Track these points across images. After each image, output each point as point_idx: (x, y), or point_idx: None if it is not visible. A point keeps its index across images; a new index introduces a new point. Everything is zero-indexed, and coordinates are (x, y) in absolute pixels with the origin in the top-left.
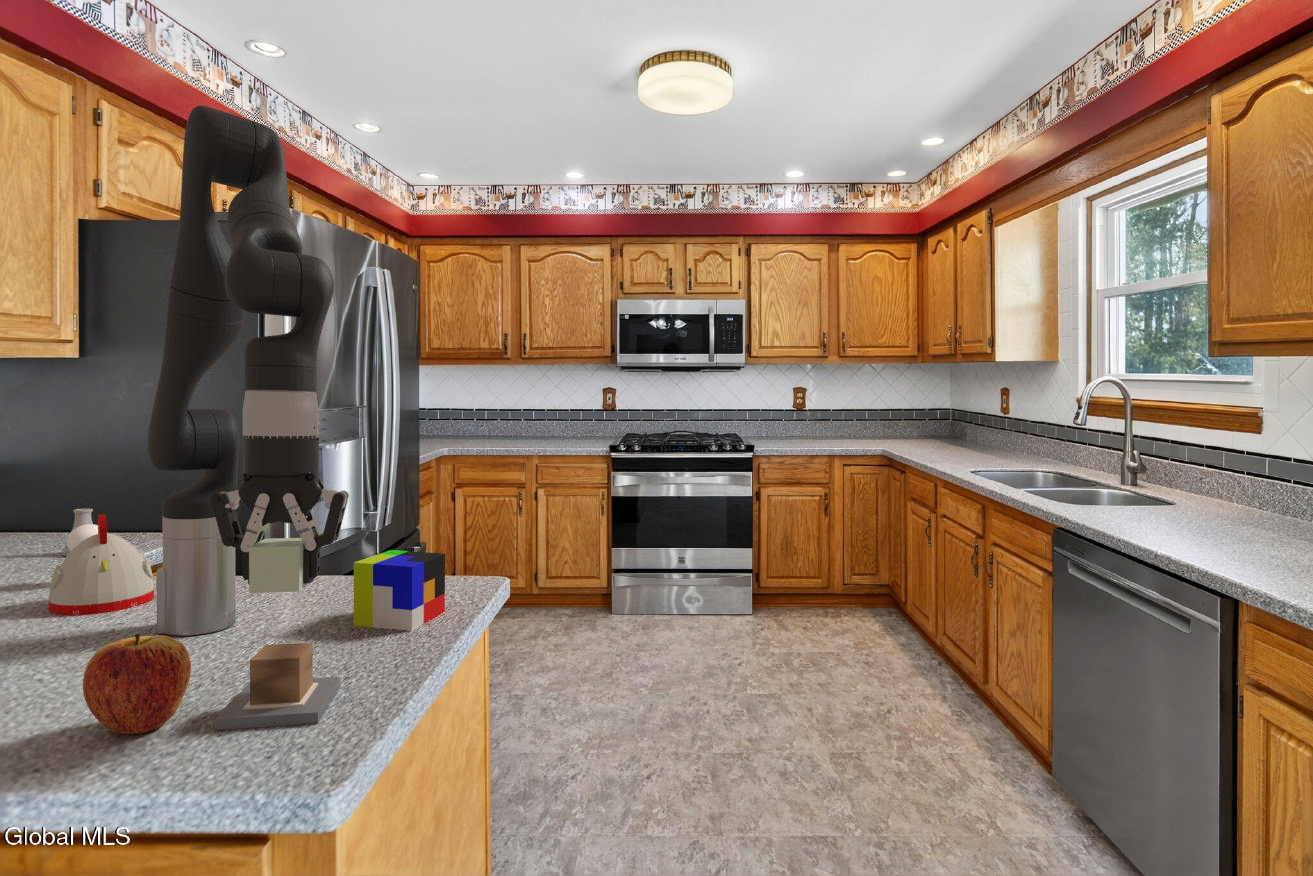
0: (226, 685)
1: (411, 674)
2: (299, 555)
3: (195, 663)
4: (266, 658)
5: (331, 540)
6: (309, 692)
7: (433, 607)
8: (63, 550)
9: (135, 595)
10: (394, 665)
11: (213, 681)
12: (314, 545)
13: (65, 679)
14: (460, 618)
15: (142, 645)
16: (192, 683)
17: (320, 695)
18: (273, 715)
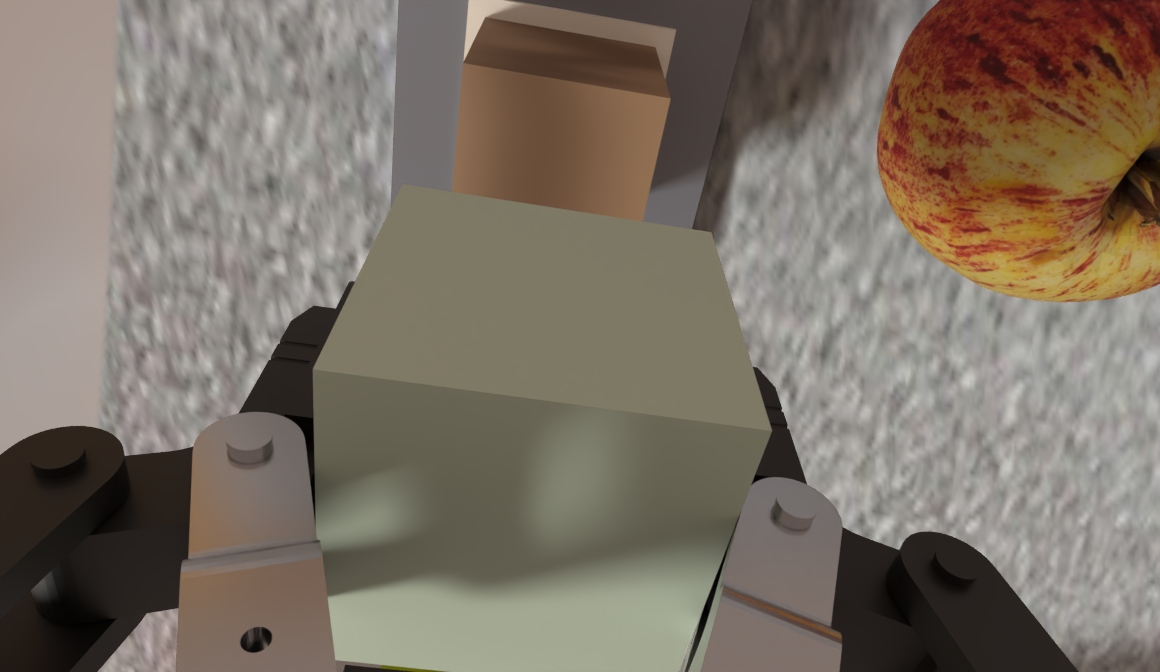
0: (750, 331)
1: (173, 253)
2: (338, 325)
3: (844, 508)
4: (604, 98)
5: (27, 452)
6: None
7: None
8: None
9: None
10: (253, 344)
11: (788, 371)
12: (212, 437)
13: (1156, 489)
14: (134, 639)
15: (1153, 96)
16: (844, 373)
17: (425, 77)
18: None
